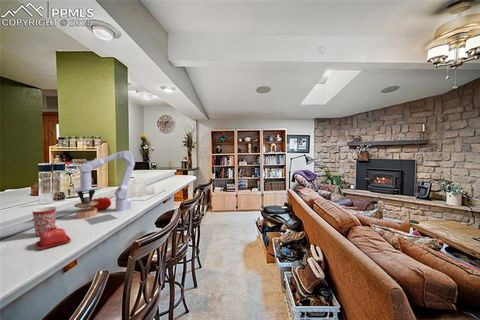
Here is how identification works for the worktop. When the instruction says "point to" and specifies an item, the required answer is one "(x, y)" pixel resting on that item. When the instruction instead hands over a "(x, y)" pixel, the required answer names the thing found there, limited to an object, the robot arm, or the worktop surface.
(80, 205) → the lid
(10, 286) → the worktop surface
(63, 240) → the butter dish
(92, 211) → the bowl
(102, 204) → the tomato
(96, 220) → the mat
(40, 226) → the mug
